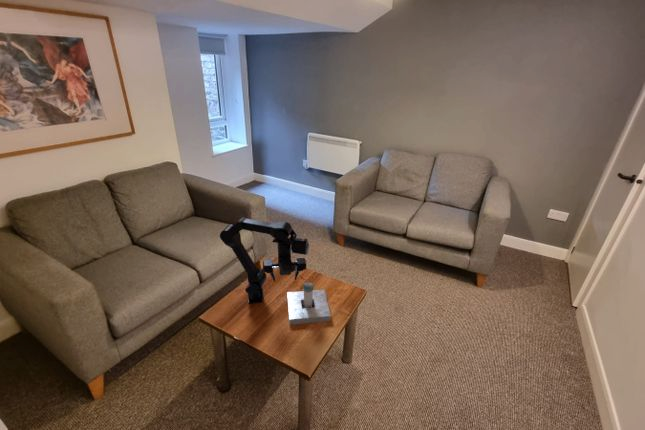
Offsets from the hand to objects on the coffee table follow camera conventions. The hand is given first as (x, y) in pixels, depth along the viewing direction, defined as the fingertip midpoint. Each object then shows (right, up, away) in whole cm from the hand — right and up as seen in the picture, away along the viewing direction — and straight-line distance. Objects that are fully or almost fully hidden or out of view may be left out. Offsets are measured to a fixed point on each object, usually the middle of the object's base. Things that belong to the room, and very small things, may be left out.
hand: (285, 280), depth 141 cm
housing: (+10, -13, +3) cm, 17 cm away
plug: (+10, -13, +3) cm, 17 cm away
